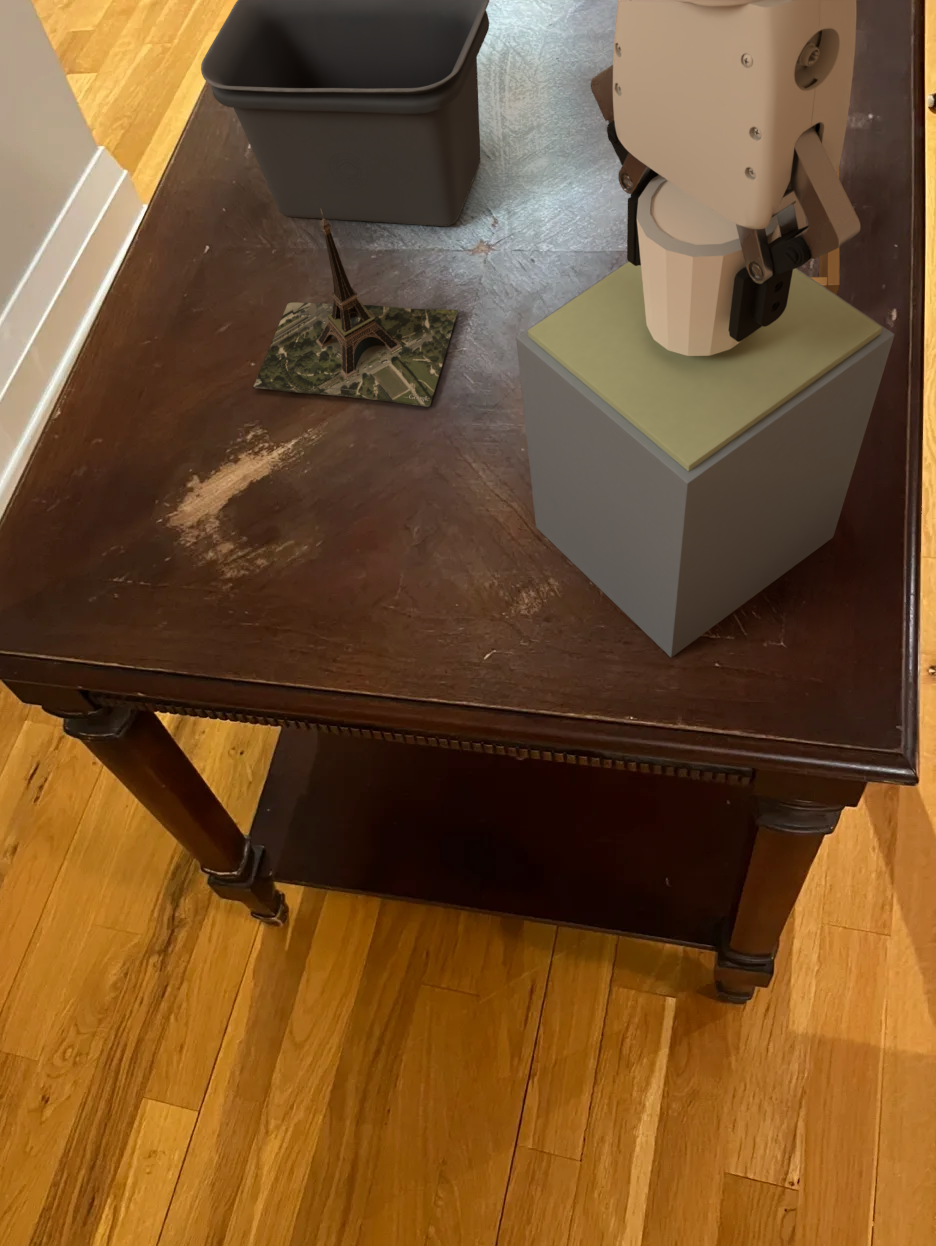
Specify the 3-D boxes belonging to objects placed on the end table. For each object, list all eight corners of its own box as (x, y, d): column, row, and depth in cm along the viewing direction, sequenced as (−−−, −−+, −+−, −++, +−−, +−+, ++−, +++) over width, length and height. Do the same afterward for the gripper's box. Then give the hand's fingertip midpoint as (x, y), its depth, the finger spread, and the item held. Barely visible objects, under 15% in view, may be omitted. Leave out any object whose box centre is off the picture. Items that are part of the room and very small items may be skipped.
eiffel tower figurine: (251, 395, 87) (194, 260, 76) (288, 302, 91) (240, 160, 80) (430, 410, 83) (400, 270, 72) (461, 312, 87) (437, 164, 76)
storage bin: (241, 237, 96) (185, 83, 83) (300, 119, 102) (255, -42, 89) (473, 255, 90) (450, 92, 77) (521, 129, 96) (507, -43, 83)
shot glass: (610, 305, 59) (609, 193, 53) (721, 250, 59) (733, 133, 53) (678, 385, 56) (685, 276, 50) (795, 327, 56) (817, 211, 50)
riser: (833, 537, 72) (895, 334, 57) (671, 658, 71) (687, 483, 55) (688, 419, 79) (706, 207, 63) (535, 527, 77) (515, 336, 61)
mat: (880, 334, 57) (882, 327, 56) (688, 472, 55) (689, 465, 55) (706, 215, 63) (707, 208, 62) (528, 336, 61) (527, 330, 60)
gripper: (1006, -63, 37) (889, 335, 52) (656, -214, 45) (646, 171, 60) (838, 50, 36) (770, 421, 51) (511, -125, 44) (539, 243, 59)
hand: (703, 284), depth 56 cm, fingers closed on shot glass, 6 cm apart
